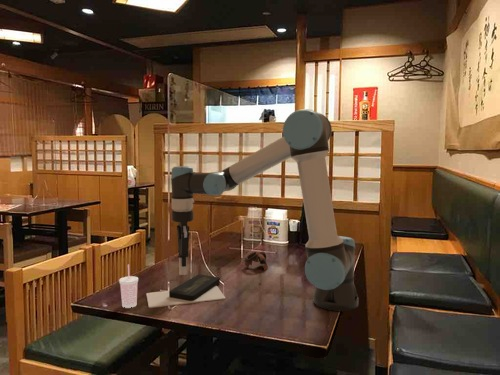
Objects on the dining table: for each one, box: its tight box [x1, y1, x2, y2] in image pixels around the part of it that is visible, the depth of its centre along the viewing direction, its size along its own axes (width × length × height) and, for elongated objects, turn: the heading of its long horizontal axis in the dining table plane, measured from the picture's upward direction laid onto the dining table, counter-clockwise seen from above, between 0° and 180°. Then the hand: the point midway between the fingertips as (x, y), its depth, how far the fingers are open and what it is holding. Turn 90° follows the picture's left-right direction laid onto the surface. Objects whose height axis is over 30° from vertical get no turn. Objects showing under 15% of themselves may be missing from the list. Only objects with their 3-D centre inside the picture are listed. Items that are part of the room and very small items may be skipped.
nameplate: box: [168, 274, 221, 301], centre depth 146 cm, size 21×2×10 cm
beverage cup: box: [118, 264, 139, 309], centre depth 132 cm, size 6×6×14 cm
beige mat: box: [145, 285, 226, 309], centre depth 140 cm, size 13×26×1 cm, turn 108°
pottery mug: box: [243, 251, 269, 271], centre depth 175 cm, size 12×10×8 cm
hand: (183, 274), depth 143 cm, fingers closed
